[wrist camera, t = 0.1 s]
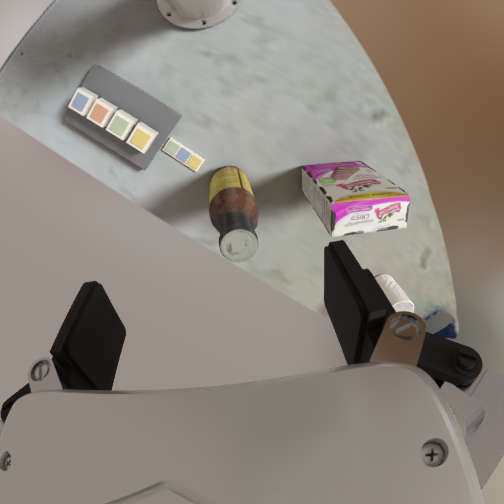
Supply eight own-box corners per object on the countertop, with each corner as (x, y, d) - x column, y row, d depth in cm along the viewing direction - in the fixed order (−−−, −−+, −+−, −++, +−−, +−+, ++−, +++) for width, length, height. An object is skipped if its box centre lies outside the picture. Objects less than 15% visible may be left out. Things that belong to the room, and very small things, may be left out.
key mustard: (133, 137, 39) (125, 142, 36) (144, 120, 38) (137, 123, 35) (150, 148, 41) (143, 154, 37) (161, 131, 39) (155, 135, 36)
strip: (162, 149, 43) (161, 150, 42) (170, 137, 42) (170, 137, 41) (196, 171, 45) (196, 172, 45) (205, 159, 44) (204, 160, 44)
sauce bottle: (204, 191, 47) (193, 258, 30) (220, 158, 44) (216, 208, 28) (240, 206, 49) (249, 278, 32) (257, 174, 46) (276, 232, 30)
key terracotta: (95, 114, 36) (85, 118, 33) (105, 97, 35) (96, 98, 32) (111, 124, 38) (101, 128, 34) (121, 106, 36) (112, 108, 33)
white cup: (397, 269, 60) (418, 298, 52) (390, 296, 64) (407, 325, 56) (367, 273, 60) (386, 304, 51) (361, 300, 64) (377, 332, 55)
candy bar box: (361, 159, 46) (412, 194, 32) (360, 185, 49) (408, 229, 35) (299, 163, 46) (331, 202, 32) (300, 191, 49) (331, 240, 35)
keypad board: (69, 117, 37) (63, 119, 36) (98, 65, 34) (93, 64, 32) (147, 166, 44) (144, 170, 42) (182, 115, 40) (180, 116, 38)
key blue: (78, 104, 35) (67, 106, 32) (88, 86, 34) (77, 87, 31) (93, 113, 36) (82, 116, 33) (103, 95, 35) (92, 97, 32)
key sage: (114, 125, 38) (105, 129, 35) (124, 108, 37) (116, 110, 34) (130, 135, 39) (122, 140, 36) (141, 118, 38) (133, 121, 35)
